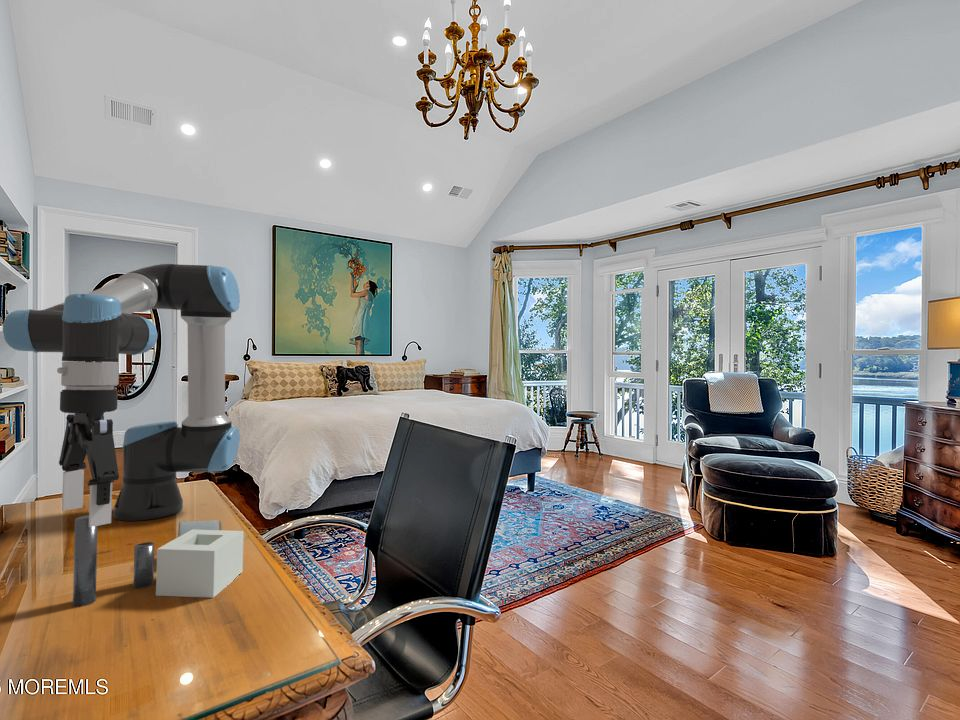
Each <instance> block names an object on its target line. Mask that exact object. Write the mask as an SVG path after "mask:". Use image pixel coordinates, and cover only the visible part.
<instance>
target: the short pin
mask: <svg viewBox="0 0 960 720" xmlns="http://www.w3.org/2000/svg"><path fill="white" fill-rule="evenodd" d="M154 572H155V542H151V541H149V542H142V543H138V544H136V545H134V548H133V582H132V583H133V588H136V589H144V588H147V587H150V586H152V585H154V583H155V582H154V577H155V576H154V575H155V573H154Z"/></svg>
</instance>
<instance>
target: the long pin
mask: <svg viewBox="0 0 960 720" xmlns="http://www.w3.org/2000/svg"><path fill="white" fill-rule="evenodd" d="M98 528H99V526H94V527H89V514H88V515H83V516H82V515H81V516H78V517H76V518H75V519H74V539H73V540H74V541H73V542H74V544H73V545H74V546H73V552H74V553H73V579H72V580H73V581H72V582H73V585H72V586H73V587H72V589H73V590H72V606H73V607H75V608H76V607H79V608H80V607H84V606H85V607H86V606H87V605H88V606H89V605H91V604H93V603H95V602H96V600H97V574H98V573H97V571H98V570H97V568H98V531H99V529H98Z"/></svg>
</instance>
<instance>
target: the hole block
mask: <svg viewBox="0 0 960 720" xmlns="http://www.w3.org/2000/svg"><path fill="white" fill-rule="evenodd" d="M244 532H245V531H244V530H225V529H223V530H196V529H192V530H190V531H188V532H187V533H185V534H183V535H181V536H179V537H178V536H177V537H176V538H174V539H173V540H171V541H169V542H167V543H165V544H163V545H162V546H160V547H158V548H157V549H156V573H155V574H156V578H155V579H156V581H155V597H180V598H181V597H184V598H188V597H189V598H209V599H211V598H212V599H214V598H215V597H216V596H217V595H219V594H220V593H221V592H222V591H223V590H224V589H225V588H226V587H228V586H229V585H230V584H232V583H233V580H234V579H235V578H236V577H237V576H238V575H239V574H240V573H242V572H243V571H244V570H243V567H244V565H243V564H244V538H245V537H244ZM242 574H243V573H242ZM238 577H239V576H238ZM238 577H237V578H238ZM237 578H236V579H237ZM236 579H235V580H236ZM235 580H234V581H235ZM227 585H228V586H227Z"/></svg>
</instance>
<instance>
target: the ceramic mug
mask: <svg viewBox="0 0 960 720" xmlns="http://www.w3.org/2000/svg"><path fill="white" fill-rule="evenodd" d="M192 529H196V530H224V525H223V522H222V521H220V520H215V519H210V520H209V519H208V520H191V521H179V522H178V531H177V538H178V537H179V536H181V535H183V534H185V533H187V532H188V531H190V530H192Z"/></svg>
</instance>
